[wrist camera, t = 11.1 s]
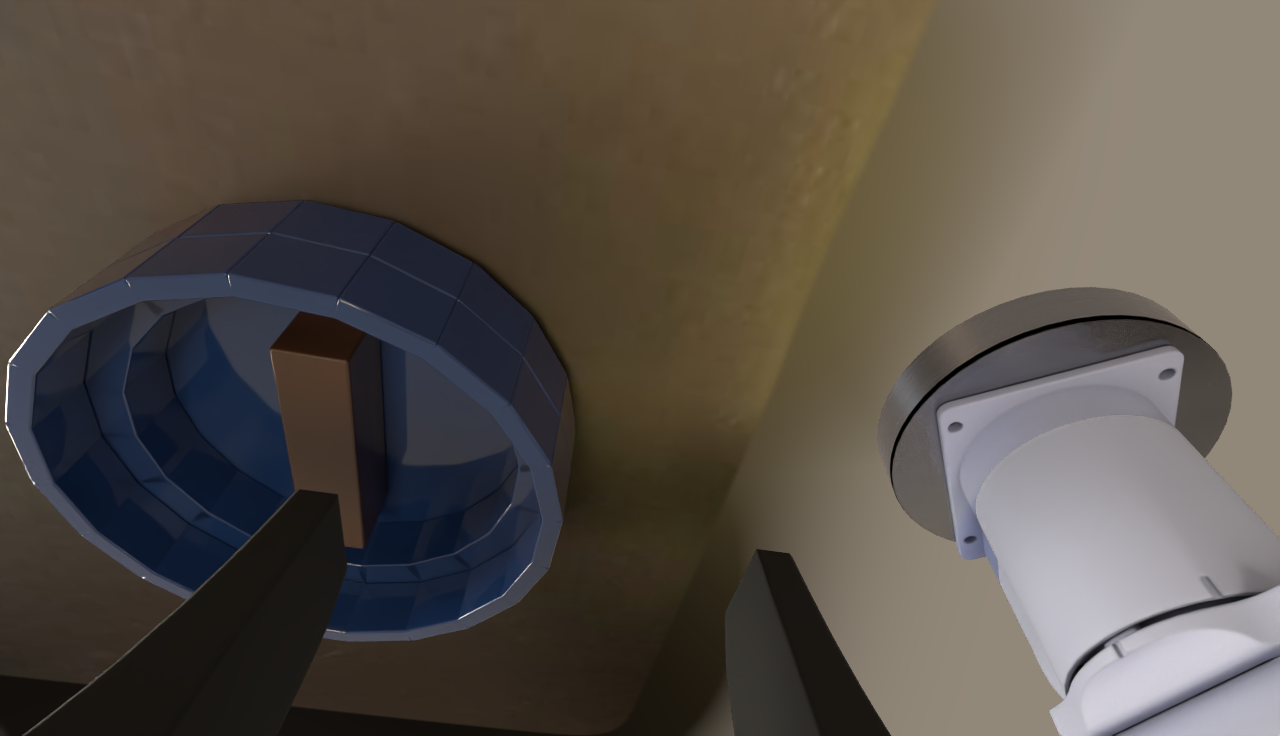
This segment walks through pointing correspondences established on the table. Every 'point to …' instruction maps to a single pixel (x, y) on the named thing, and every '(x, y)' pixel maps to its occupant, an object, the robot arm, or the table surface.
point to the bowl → (251, 420)
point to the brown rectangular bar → (334, 416)
